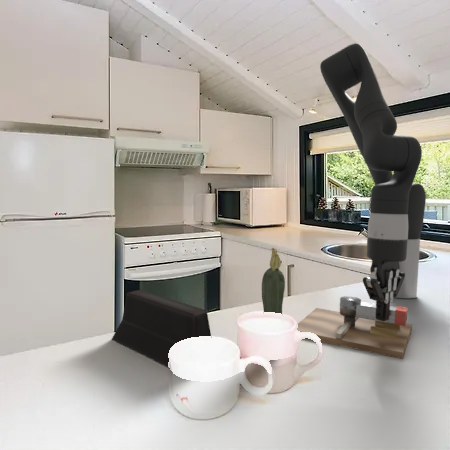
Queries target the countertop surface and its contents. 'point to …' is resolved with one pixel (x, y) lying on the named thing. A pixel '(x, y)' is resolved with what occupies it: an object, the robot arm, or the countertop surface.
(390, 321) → the bar
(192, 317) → the barrier
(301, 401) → the countertop surface
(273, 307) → the vegetable
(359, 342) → the door board
